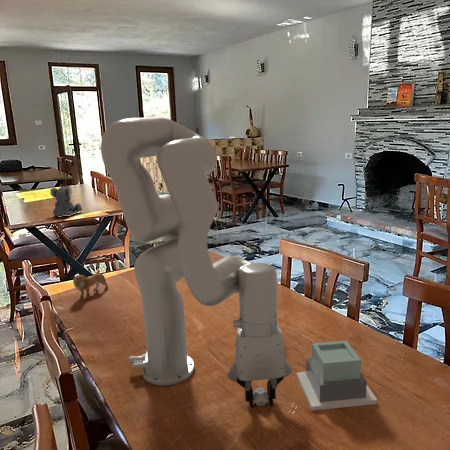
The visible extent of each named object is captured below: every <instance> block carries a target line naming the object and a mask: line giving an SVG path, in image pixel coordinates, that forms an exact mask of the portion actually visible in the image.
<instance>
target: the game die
mask: <svg viewBox="0 0 450 450" xmlns="http://www.w3.org/2000/svg"><path fill="white" fill-rule="evenodd" d="M268 398H269V396H268V394H267V390H265V388H263V387H256V388H255V390H254V391H253V402H254V403H255V404H256V406H258V407H262V406H264V407H265V405H266V404H267V402H268Z"/></svg>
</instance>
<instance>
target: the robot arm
mask: <svg viewBox="0 0 450 450" xmlns="http://www.w3.org/2000/svg"><path fill="white" fill-rule="evenodd" d="M100 142H101V143H100V154H101V159H102V162H103V165H104V167H105V170H106V171H107V173H108V176H109V177H110V179H111V182H112V184H113V185H114V186H113V187H114V189H115V192H116V194H117V199H118V202H119V205H120V208H121V213H122V215H123V217H124V221H125V223H126V226H127V229H128V232H129V233H130V236H131V237H132V239H133V240H134V241H136V242H138V243H148V242H149V243H150V242H152V241H155V240H158V239H161V238H163V239H164V242H161V243H159V244H155V245H154V246H152V247H149V248H148V249H145V250H144V251H143V252H142V253H140V254H139V255H138V257H137V258H136V259H135V261H134V262H135V263H134V265H133V266H134V267H133V268H134V269H133V270H134V276H135V279H136V280H135V281H136V282H137V287H138V289H139V294H140V298H141V307H142V316H143V326H144V335H145V346H146V353H142V355H133V356H132V355H131V356H129V358H128V364H129V365H130V366H131V365H132V368H133V369H134V370H135V369H136V370H137V369H141V373H142V374H141V375H142V378H143V379H144V380H145V381H146V382H147V383H150V384H152V385H154V386H155V385H156V386H163V387H164V386H165V387H166V386H172V385H177V384H180V383H182V382H184V381H186V380H187V379H189V377H191V376H192V375H193V373H194V371H195V363H194V360H193V358H192V357H190V356H188V351H187V350H188V348H187V334H186V319H185V318H186V317H185V306H184V304H185V303H184V299H183V297H182V296H183V295H182V294H181V292H180V291H179V290H178V287H177V283H178V282H179V281H180V280H181V279H185V282H186V284H187V287H188V289H189V291H190V292H191V295H192V296H193V297H194V299H196V301H197V302H198V303H200V304H201V305H204V306H205V307H214V306H218V305H219V304H221V303H222V302H224V301H225V300H227V299H228V298H230V297H232V296H233V295H234V294H237V293H239V295H238V297H239V315H238V319H236V320H232V325H233V328H237V330H236V337H235V344H234V345H235V346H234V362H233V363H232V365H231V366H230V368H229V370H228V372H227V379H229V380H231V381H233V382H235V383H237V384H238V385H239V386H241V387H242V388H243V389H244V396H245V397H244V398H245V399H244V400H245V402H248V405H249V408H253V407H254V400H253V393H254V391H253V386H252V381H262V380H267V382H266V393H267V394H268V396H269V398H268V400H267V402H268V403H269V406H274V400H276V399H277V397H276V396H277V395H276V393H277V391H276V389H277V387H278V385H279V384H280V383H281V382H282V381H283V380H284V378H286V377H288V376H290V375H291V374H292V373H293V369H292V367H291V366H290V364H289V363H288V362H287V360H286V352H285V351H286V350H285V344H284V343H285V341H284V336H283V332H282V330H281V328H280V326H279V325H278V274H277V270H276V268H275V267H274V266H272V265H271V264H269V263H264V262H263V263H262V262H253V261H250V260H247V259H244V258H242V257H240V256H237V255H227V256H224V257H222V258H220V259H218V260H217V261H214V262H212V260H211V258H210V257H211V256H210V254H209V249H208V235H209V231H210V228H211V225H212V223H213V221H214V220H215V217H216V215H217V214H218V211H219V204H218V201H217V199H216V196H215V193H214V191H213V189H212V186H211V183H210V182H209V179H208V175H209V174H211V173H213V172H214V170H215V168H216V167H217V164H218V155H217V151H216V149H215V147H214V145H212V143H211V142H210V141H209V140H208V139H206V138H205V137H204V136H202V135H200V134H198V133H197V132H195V131H192V130H191V129H188V128H187V127H186V126H184V125H182V124H179V123H178V122H176V121H174V120H172V119H170V118H166V117H162V116H161V117H158V116H157V117H130V118H123V119H120V120H116V121H114V122H112V123H111V124H110V125H109V126H108V127H107V128H106V129H105V131H104V132H103V135H102V138H101V141H100ZM151 157H156V162H157V166H158V168H159V171H160V175H161V176H162V179H163V181H164V184H165V187H166V189H167V192H168V193H165V194H160V195H158V191H157V190H156V186H155V183H154V180H153V177H152V176H151V174H150V173H149V171H148V169H146V167H145V166H144V165H143V164H142V163H141V161H140V159H142V158H151Z"/></svg>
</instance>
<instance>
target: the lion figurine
mask: <svg viewBox="0 0 450 450" xmlns="http://www.w3.org/2000/svg"><path fill="white" fill-rule="evenodd" d="M106 281H107V280H106V278H105V275H104V274H103V273H100V272H97V273H94V274H92V275H90V276H86V275H82V274H76V275H75V276H74V278H73V281H72V282H73V286H74V288H75V289H76V290H78V291H79V292H80V293H81V294H80V298H83V297H85V298H90V296H91V295H90V288H91V287H94V286H95V288H93V291H97V290H98V289H99V287H100V285H103V286H105V287H104V290H106V291H107V290H108V289H109V286H108V282H106ZM85 292H86V296H84V295H85Z"/></svg>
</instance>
